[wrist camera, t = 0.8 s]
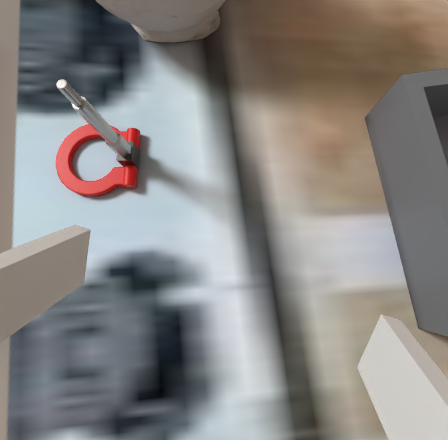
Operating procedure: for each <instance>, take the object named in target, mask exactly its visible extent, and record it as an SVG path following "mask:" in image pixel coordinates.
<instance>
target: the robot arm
mask: <svg viewBox="0 0 448 440" xmlns="http://www.w3.org/2000/svg"><path fill="white" fill-rule="evenodd" d="M89 238H90V229H87V228H84V227H80V226H77V225H74V226H71V227H68V228H66V229H63V230H60V231H58V232H55V233H52V234H50V235H47V236H45V237H42V238H39V239H37V240H34V241H31V242H29V243H26V244H23V245H21V246H18V247H16V248H13V249H10V250H8V251H5V252H2V253H0V343H1V342H2V341H4V340H5V339H6V338H8V337H9V336H11V335H12V334H13V333H15V332H16V331H18V330H19V329H20V328H22V327H23V326H24V325H26V324H27V323H29V322H30V321H31V320H33V319H34V318H36V317H37V316H38V315H40V314H41V313H43V312H44V311H45V310H47V309H48V308H50V307H51V306H52V305H54V304H55V303H57V302H58V301H59V300H61V299H62V298H63V297H65V296H66V295H68V294H69V293H70V292H72V291H73V290H75V289H76V288H77V287H79V286H80V285H82V284H83V283H84V278H85V270H86V262H87V254H88V246H89ZM357 368H358V370H359V372H360V375H361V377H362V379H363V382H364V384H365V386H366V389H367V391H368V393H369V396H370V398H371V400H372V403H373V405H374V407H375V410H376V412H377V414H378V417H379V419H380V421H381V424H382V426H383V428H384V430H385V433H386V435H387V437H388V440H448V379H447V378H446V376H445V375H444V374H443V373H442V371H441V370H440V369H439V368H438V366H437V365H436V364H435V363H434V362H433V360H432V359H431V358H430V357H429V355H428V354H427V353H426V352H425V350H424V349H423V348H422V347H421V345H420V344H419V343H418V342H417V340H416V339H415V338H414V337H413V336H412V334H411V333H410V332H409V331H408V329H407V328H406V327H405V326H404V324H403V323H402V322H401V321H400V320H399V319H395V318H392V317H388V316H385V315H382V314H381V316H380V318H379V321H378V323H377V325H376V327H375V329H374V331H373V334H372V336H371V338H370V340H369V342H368V345H367V347H366V349H365V351H364V353H363V356H362V358H361V360H360V362H359V364H358V367H357Z"/></svg>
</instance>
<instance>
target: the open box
mask: <svg viewBox="0 0 448 440" xmlns="http://www.w3.org/2000/svg"><path fill="white" fill-rule="evenodd" d="M365 120H366V124H367V128H368V132H369V136H370V140H371V144H372V147H373V151H374V155H375V159H376V163H377V167H378V171H379V175H380V179H381V183H382V187H383V191H384V195H385V199H386V202H387V206H388V210H389V214H390V218H391V222H392V226H393V230H394V234H395V238H396V242H397V246H398V250H399V254H400V257H401V261H402V265H403V269H404V273H405V277H406V281H407V285H408V289H409V293H410V297H411V301H412V305H413V309H414V312H415V316H416V320H417V324H418V328H419V329H422V330H426V331H429V332H433V333H436V334H440V335H443V336H447V337H448V69H440V70H433V71H425V72H417V73H410V74H402V75H401V77H400V78H399V79H398V80H397V81H396V82H395V84H394V85H393V86H392V87H391V88H390V89H389V90H388V92H387V93H386V94H385V95H384V96H383V97H382V99H381V100H380V101H379V102H378V103H377V104H376V105H375V107H374V108H373V109H372V110H371V111H370V112H369V114H368V115H367V116H366V117H365Z"/></svg>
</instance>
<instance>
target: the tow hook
mask: <svg viewBox="0 0 448 440" xmlns="http://www.w3.org/2000/svg"><path fill="white" fill-rule="evenodd" d="M56 86H57V88H58V89H59V90H60V91H61V92H62V93H63V94H64V95H65V96H66V97H67V98H68V99H69V100H70V101H71V102H72V107H73V108H74V109H75V110H76V111H77V112H78V113H79V114H80V115H81V116H82V117H83V118H84V119H85V120H86V121H87V122H88V123H89V124H88V125H85V126H82V127H80V128H78V129H76V130H75V131H73V132H72V133H71V134H70V135H68V136H67V137H66V138H65V140H64V141H63V143H62V144H61V146H60V148H59V150H58V153H57V157H56V169H57V174H58V176H59V178H60V180H61V182H62V183H63V184H64V185H65V186H66V187H67V188H68V189H70V190H72V191H74V192H76V193H78V194H80V195H85V196H99V195H102V194H106V193H108V192H110V191H112V190H113V189H115V188H117V187H118V186H123V187H125V188H136V181H137V169H138V167H139V153H140V151H139V141H140V131H139V130H138V129H135V128H129V129H128V130H127V131H125V132H120V131H119V130H118V129H116V128H114V127H112V126H110V125H109V124H108V123H107V122H106V121H105V120H104V119H103V117H102V116H101V115H100V114H99V113H98V112H97V111H96V109H95V108H94V107H93V106H92V105H91V104H90V103H89V102H88V100H87V99H86V98H85V97H83V96H79V94H78V93H77V92H76V91H75V90H74V89H73V88H72V87H71V86H70V84H69V83H68V82H67V81H66V80H59V81H58V82H57V85H56ZM93 138H103V139H105V140H106V144H107V145H108V146H109V147H110V148H111V149H112V150H113V151H114V152H115V153H116V154H117V159H116V160H117V161H118V162H119V163H120V164H121V165H122V166H123V167H114V168H113V169H112V171H111V172H110V173H109V174H108V175H107V176H105V177H104V178H102V179H100V180H97V181H89V182H88V181H83V180H81V179H79V178H78V177H77V176H76V175H75V173H74V171H73V167H72V159H73V156H74V153H75V152H76V150H77V148H78V147H79V146H80V145H81V144H82V143H84V142H86V141H87V140H90V139H93Z"/></svg>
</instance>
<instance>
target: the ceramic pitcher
mask: <svg viewBox="0 0 448 440" xmlns="http://www.w3.org/2000/svg"><path fill="white" fill-rule="evenodd" d="M225 1H226V0H96V2H98V3H99V4H100V5H101V6H102V7H103V8H105V9H106V10H107V11H109V12H110V13H112V14H113V15H115V16H117V17H119V18H121V19H123V20H125V21H127V22H129V23H131V25H132V26H133V27H134V29H135V30H136V31H137V32H138V33H139V34H140V35H141V36H142V38H143V39H144V40H148V41H156V42H169V43H170V42H182V41H192V40H197V39H203V38H205V37H207V36H208V35H210V34H211V33H212V32H214V31H216V30H217V29H218V28H219V25H220V22H221V19H220V15H219V10H218V9H219V8H220V7H221V6H222V5H223V3H224V2H225Z"/></svg>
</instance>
